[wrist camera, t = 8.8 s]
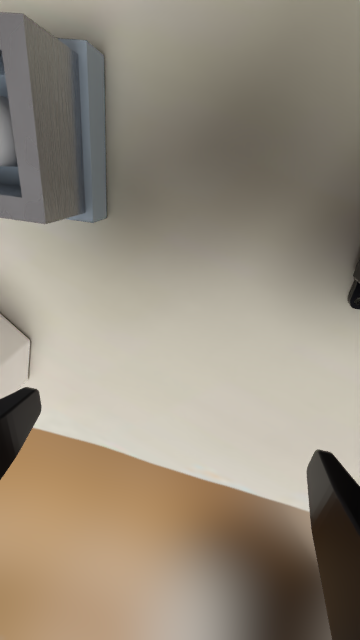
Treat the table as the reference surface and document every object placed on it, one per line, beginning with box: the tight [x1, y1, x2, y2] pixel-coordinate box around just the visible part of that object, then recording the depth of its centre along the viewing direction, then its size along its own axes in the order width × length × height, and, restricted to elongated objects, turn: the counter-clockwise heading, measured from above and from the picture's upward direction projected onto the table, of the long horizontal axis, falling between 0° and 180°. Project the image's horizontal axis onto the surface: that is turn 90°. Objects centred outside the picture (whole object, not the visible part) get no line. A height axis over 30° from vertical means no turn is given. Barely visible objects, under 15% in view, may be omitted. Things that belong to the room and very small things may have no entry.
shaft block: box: [0, 38, 107, 223], centre depth 15 cm, size 8×8×6 cm
